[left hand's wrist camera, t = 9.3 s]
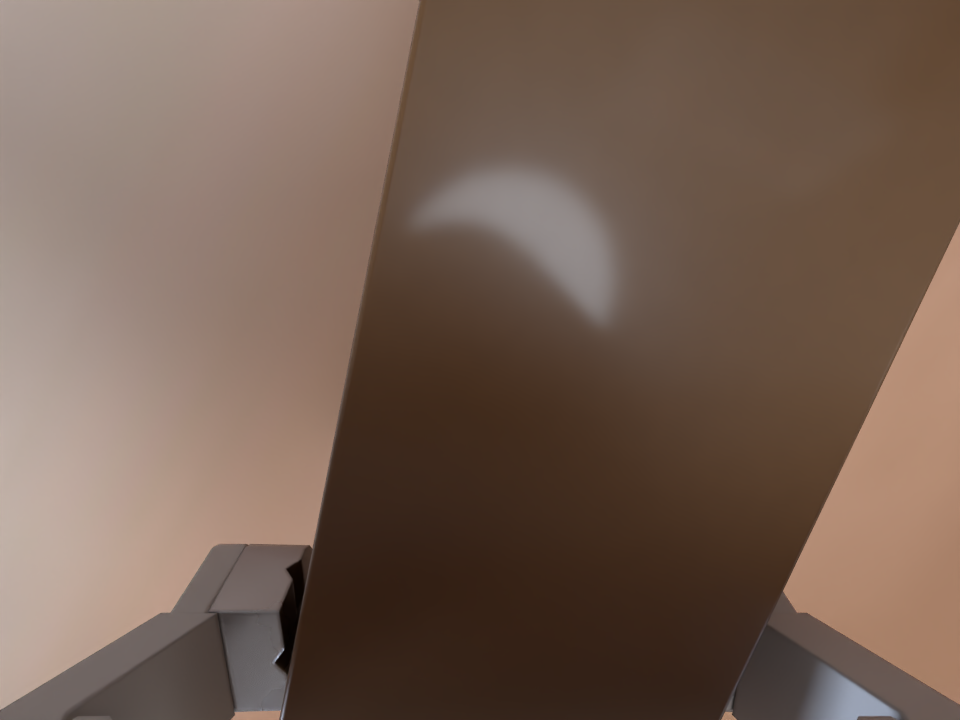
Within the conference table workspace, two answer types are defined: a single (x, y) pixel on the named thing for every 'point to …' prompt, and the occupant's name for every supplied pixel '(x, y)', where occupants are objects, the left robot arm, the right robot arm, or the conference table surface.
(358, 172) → the conference table surface
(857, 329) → the bar
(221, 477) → the conference table surface
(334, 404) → the conference table surface
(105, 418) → the conference table surface
